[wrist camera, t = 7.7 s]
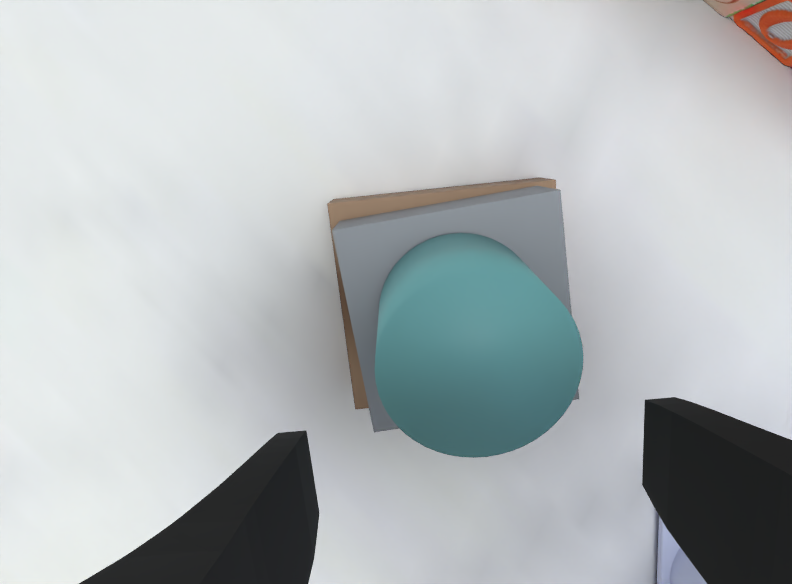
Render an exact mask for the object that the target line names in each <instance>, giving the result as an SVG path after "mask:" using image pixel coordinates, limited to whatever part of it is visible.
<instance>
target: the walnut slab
mask: <svg viewBox="0 0 792 584" xmlns="http://www.w3.org/2000/svg"><path fill="white" fill-rule="evenodd" d="M532 186H542V187H547V188H553V189H556V180H553V179H545V178H532V179H522V180H513V181H503V182H494V183H484V184H475V185H465V186H455V187H446V188H436V189H427V190H417V191H408V192H398V193H388V194H379V195H369V196H360V197H350V198H341V199H333V200H332V201H330V202H329V203H328V204H327V205H328V212H329V219H330V227H331V234H332V230H333V229H334V227H335V226H336V225H337V224H338V222H339V221H341V220H347V219H352V218H358V217H364V216H369V215H375V214H381V213H386V212H392V211H397V210H403V209H409V208H414V207H420V206H425V205H431V204H437V203H442V202H448V201H453V200H459V199H465V198H470V197H476V196H481V195H487V194H493V193H498V192H504V191H509V190H515V189H521V188H526V187H532ZM332 241H333V249H334V256H335V263H336V271H337V278H338V285H339V293H340V300H341V307H342V315H343V322H344V329H345V337H346V344H347V351H348V359H349V366H350V373H351V381H352V388H353V395H354V403H355V409H363V408H369V405H368V401H367V396H366V391H365V386H364V382H363V377H362V372H361V367H360V362H359V358H358V353H357V348H356V343H355V339H354V334H353V329H352V324H351V320H350V315H349V310H348V305H347V300H346V296H345V291H344V286H343V281H342V277H341V272H340V267H339V262H338V257H337V253H336V248H335V243H334V238H333V234H332Z"/></svg>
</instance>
